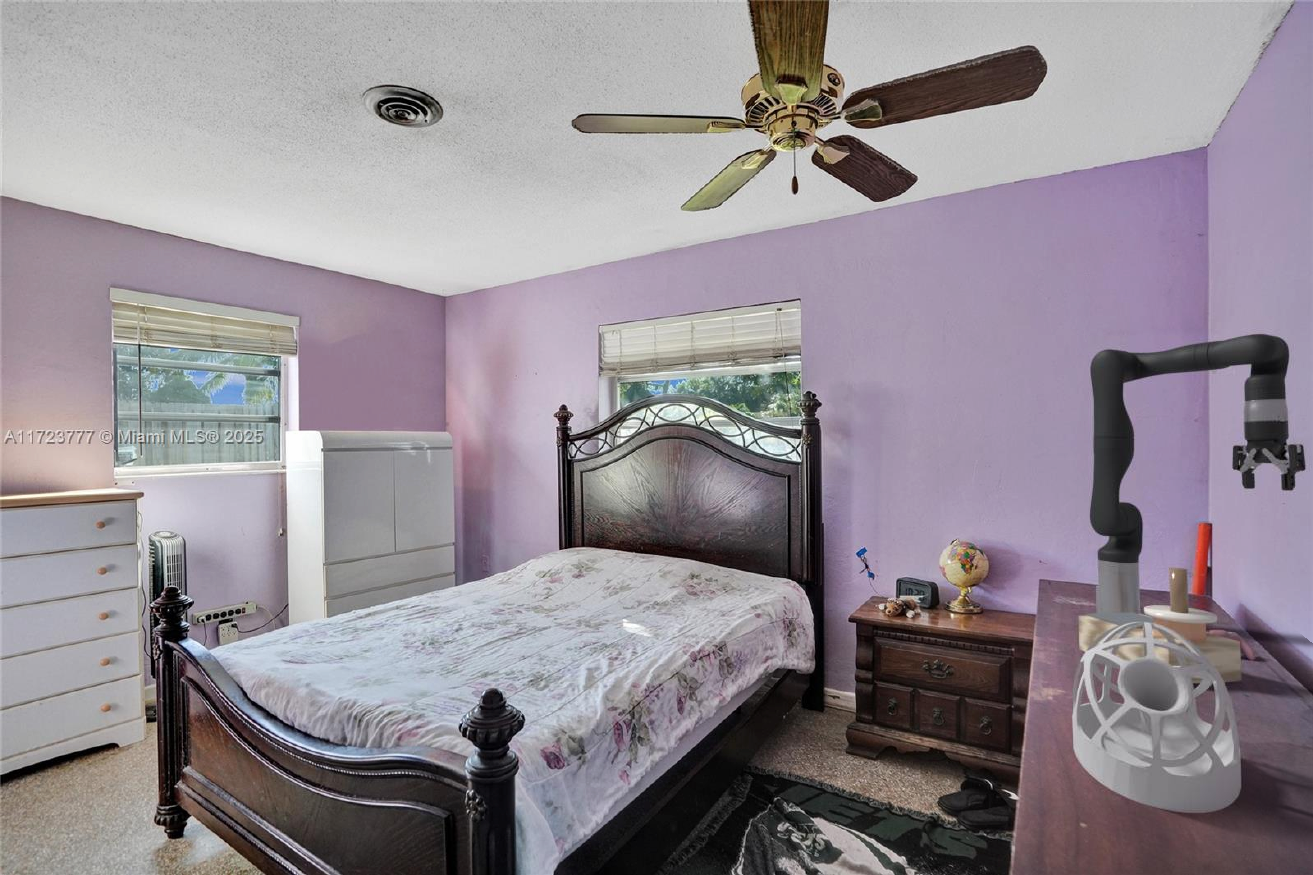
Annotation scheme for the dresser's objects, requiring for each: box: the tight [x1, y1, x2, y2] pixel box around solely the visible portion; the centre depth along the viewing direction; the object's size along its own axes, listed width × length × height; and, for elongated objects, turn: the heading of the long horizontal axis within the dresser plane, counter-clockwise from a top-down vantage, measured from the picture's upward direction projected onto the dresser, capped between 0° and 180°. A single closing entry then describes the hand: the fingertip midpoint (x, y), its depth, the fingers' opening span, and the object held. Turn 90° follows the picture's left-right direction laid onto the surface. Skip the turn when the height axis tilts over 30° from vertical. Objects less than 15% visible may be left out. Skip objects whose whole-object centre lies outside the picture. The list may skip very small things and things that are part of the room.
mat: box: [1085, 612, 1154, 628], centre depth 149 cm, size 12×12×1 cm
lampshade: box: [1071, 622, 1242, 814], centre depth 95 cm, size 20×26×20 cm
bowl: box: [1154, 617, 1207, 641], centre depth 136 cm, size 8×8×4 cm
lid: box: [1143, 567, 1218, 625], centre depth 137 cm, size 12×12×10 cm
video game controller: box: [1206, 629, 1256, 661], centre depth 148 cm, size 10×5×7 cm, turn 86°
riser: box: [1078, 613, 1242, 684], centre depth 143 cm, size 24×16×8 cm, turn 6°
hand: (1268, 489), depth 150 cm, fingers open, 8 cm apart
